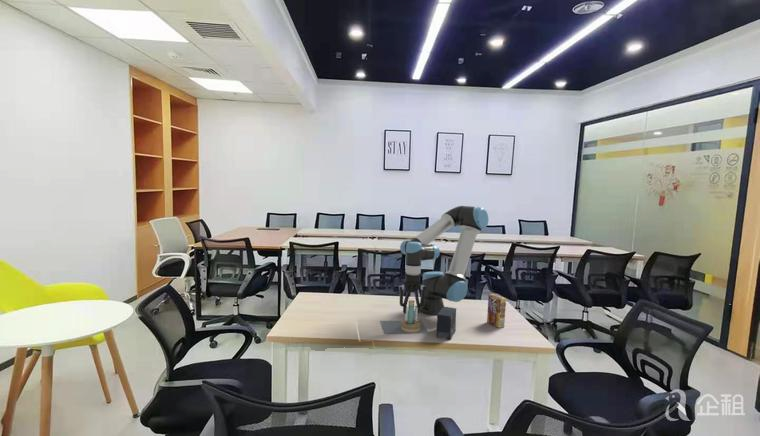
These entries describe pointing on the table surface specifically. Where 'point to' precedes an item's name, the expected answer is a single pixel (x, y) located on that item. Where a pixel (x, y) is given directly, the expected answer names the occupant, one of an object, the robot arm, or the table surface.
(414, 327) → the bead
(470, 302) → the table surface
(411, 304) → the teal and tan cylinder
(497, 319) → the candy box
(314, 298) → the table surface
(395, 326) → the mat
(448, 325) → the small box
